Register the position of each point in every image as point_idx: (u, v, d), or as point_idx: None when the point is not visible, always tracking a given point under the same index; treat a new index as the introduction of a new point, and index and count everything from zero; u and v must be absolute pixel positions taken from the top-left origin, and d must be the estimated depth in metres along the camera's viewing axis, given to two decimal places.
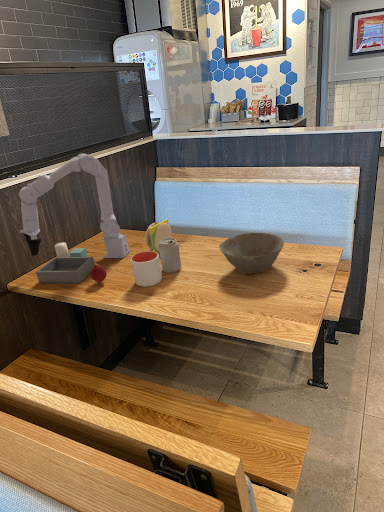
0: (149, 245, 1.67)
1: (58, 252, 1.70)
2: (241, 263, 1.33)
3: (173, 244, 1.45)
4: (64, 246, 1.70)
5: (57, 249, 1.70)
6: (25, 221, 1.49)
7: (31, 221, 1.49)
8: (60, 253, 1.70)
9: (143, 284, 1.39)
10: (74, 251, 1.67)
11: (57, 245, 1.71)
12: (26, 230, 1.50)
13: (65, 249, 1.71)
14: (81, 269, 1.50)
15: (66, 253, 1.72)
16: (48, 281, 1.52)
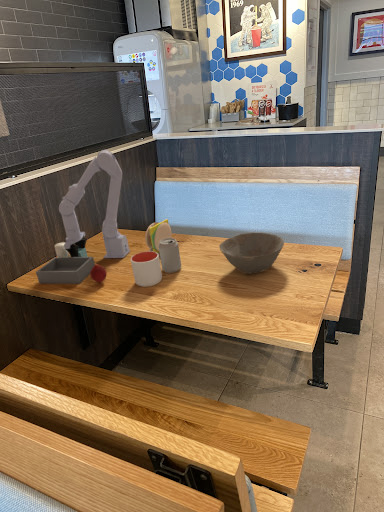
0: (149, 245, 1.67)
1: (58, 252, 1.70)
2: (241, 263, 1.33)
3: (173, 244, 1.45)
4: None
5: (57, 249, 1.70)
6: None
7: (69, 231, 1.62)
8: (60, 253, 1.70)
9: (143, 284, 1.39)
10: None
11: (57, 245, 1.71)
12: (67, 238, 1.64)
13: (65, 249, 1.71)
14: (81, 269, 1.50)
15: (66, 253, 1.72)
16: (48, 281, 1.52)
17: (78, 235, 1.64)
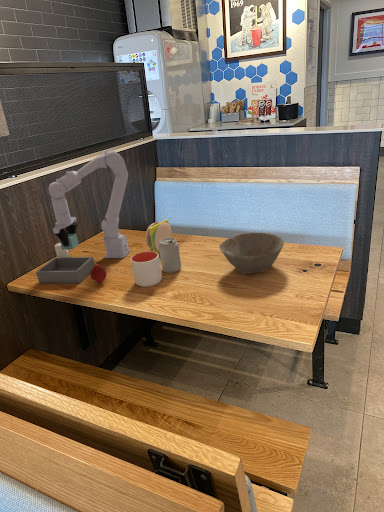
0: (149, 245, 1.67)
1: (58, 252, 1.70)
2: (241, 263, 1.33)
3: (173, 244, 1.45)
4: None
5: (57, 249, 1.70)
6: (55, 215, 1.57)
7: (58, 215, 1.56)
8: (60, 253, 1.70)
9: (143, 284, 1.39)
10: None
11: (57, 245, 1.71)
12: (57, 223, 1.58)
13: (65, 249, 1.71)
14: (81, 269, 1.50)
15: (66, 253, 1.72)
16: (48, 281, 1.52)
17: (68, 219, 1.58)
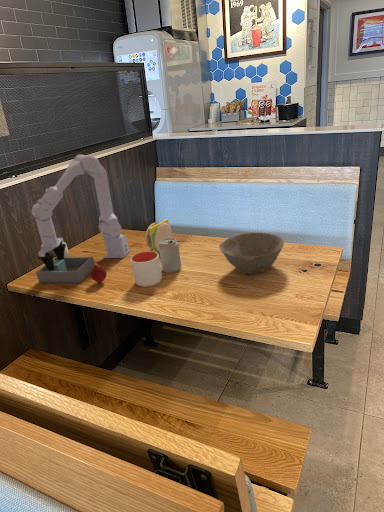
0: (149, 245, 1.67)
1: None
2: (241, 263, 1.33)
3: (173, 244, 1.45)
4: None
5: None
6: None
7: (44, 237, 1.49)
8: None
9: (143, 284, 1.39)
10: None
11: None
12: (43, 245, 1.51)
13: (65, 249, 1.71)
14: (81, 269, 1.50)
15: (66, 253, 1.72)
16: (48, 281, 1.52)
17: (54, 242, 1.51)
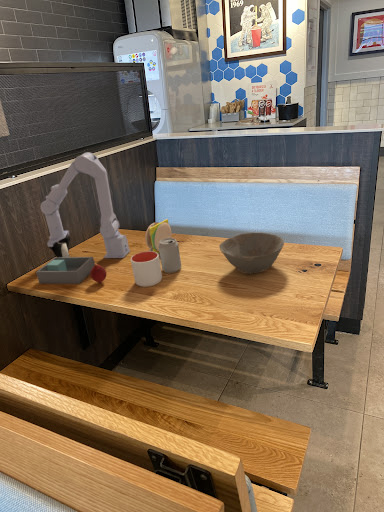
0: (149, 245, 1.67)
1: None
2: (241, 263, 1.33)
3: (173, 244, 1.45)
4: (64, 246, 1.70)
5: None
6: (49, 229, 1.67)
7: (52, 230, 1.66)
8: None
9: (143, 284, 1.39)
10: (51, 263, 1.55)
11: None
12: (51, 237, 1.68)
13: (65, 249, 1.71)
14: (81, 269, 1.50)
15: (66, 253, 1.72)
16: (48, 281, 1.52)
17: (61, 233, 1.68)
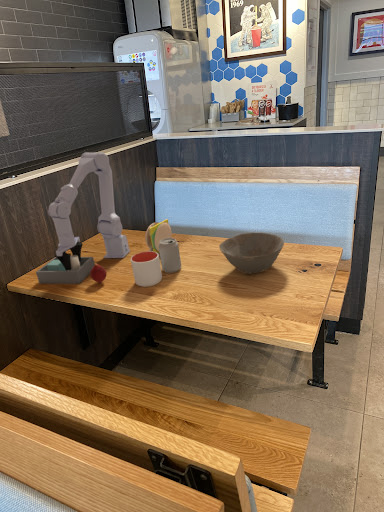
0: (149, 245, 1.67)
1: None
2: (241, 263, 1.33)
3: (173, 244, 1.45)
4: (76, 259, 1.52)
5: None
6: (58, 236, 1.48)
7: (61, 236, 1.47)
8: (71, 267, 1.52)
9: (143, 284, 1.39)
10: (51, 263, 1.55)
11: None
12: (60, 244, 1.49)
13: (77, 262, 1.53)
14: (81, 269, 1.50)
15: (78, 267, 1.54)
16: (48, 281, 1.52)
17: (72, 241, 1.49)
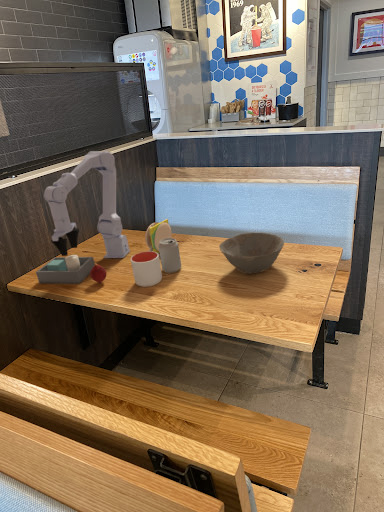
0: (149, 245, 1.67)
1: (69, 266, 1.52)
2: (241, 263, 1.33)
3: (173, 244, 1.45)
4: (76, 259, 1.52)
5: (68, 263, 1.52)
6: None
7: (57, 221, 1.44)
8: (71, 267, 1.52)
9: (143, 284, 1.39)
10: (51, 263, 1.55)
11: (68, 258, 1.53)
12: (56, 230, 1.47)
13: (77, 262, 1.53)
14: (81, 269, 1.50)
15: (78, 267, 1.54)
16: (48, 281, 1.52)
17: (68, 226, 1.46)
